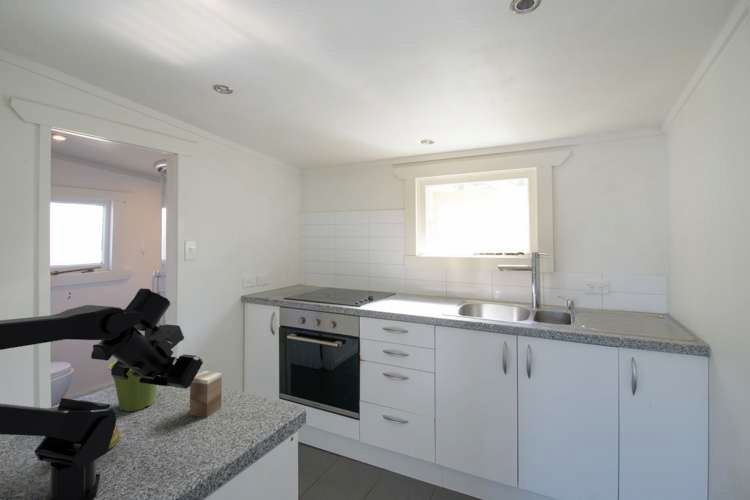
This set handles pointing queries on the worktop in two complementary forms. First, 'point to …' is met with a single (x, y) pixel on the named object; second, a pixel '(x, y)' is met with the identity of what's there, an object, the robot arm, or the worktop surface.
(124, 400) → the plant pot
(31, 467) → the worktop surface
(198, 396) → the walnut block
